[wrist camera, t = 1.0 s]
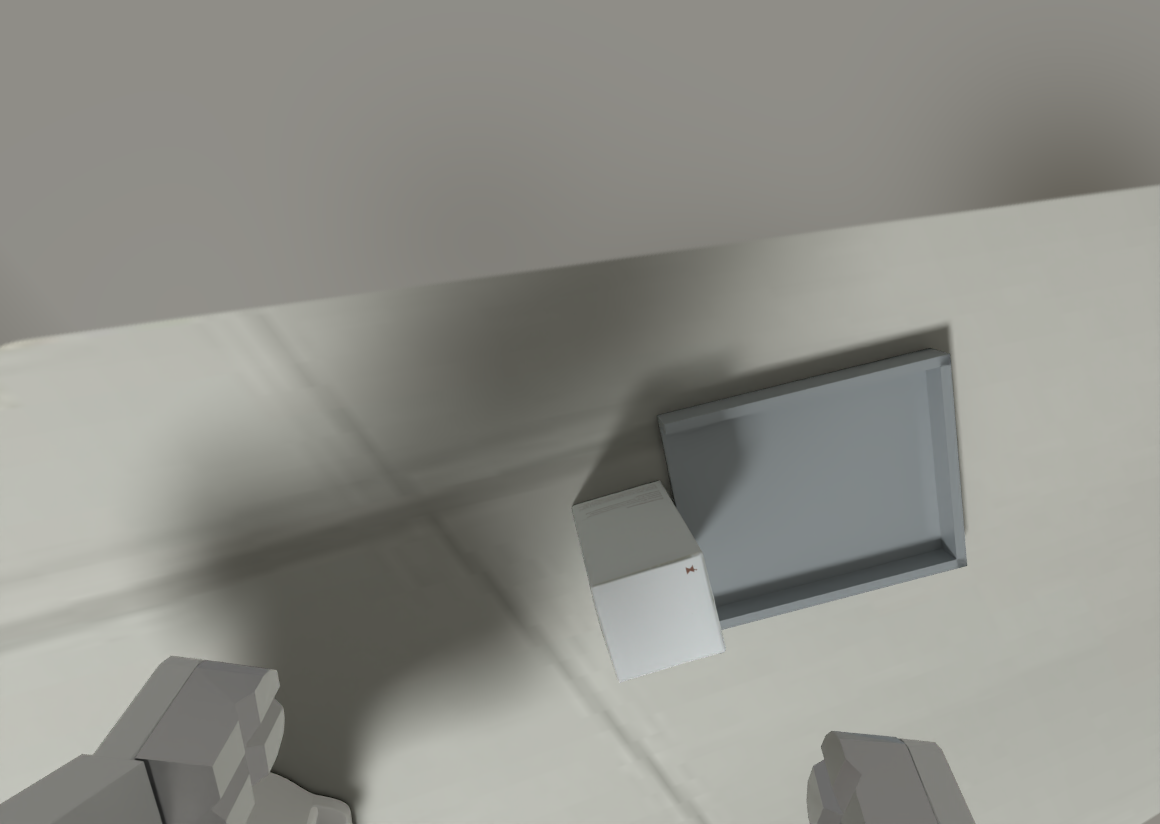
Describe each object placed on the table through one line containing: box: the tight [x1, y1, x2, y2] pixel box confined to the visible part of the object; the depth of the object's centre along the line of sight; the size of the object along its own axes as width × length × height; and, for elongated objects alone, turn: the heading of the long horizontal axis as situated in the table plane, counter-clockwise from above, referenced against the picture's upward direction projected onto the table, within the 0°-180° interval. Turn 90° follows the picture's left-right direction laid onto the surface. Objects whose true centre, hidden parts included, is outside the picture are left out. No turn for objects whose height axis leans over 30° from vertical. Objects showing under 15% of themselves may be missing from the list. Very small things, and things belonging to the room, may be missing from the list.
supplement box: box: [572, 481, 726, 683], centre depth 49 cm, size 7×7×13 cm
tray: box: [657, 348, 967, 630], centre depth 55 cm, size 18×22×2 cm
